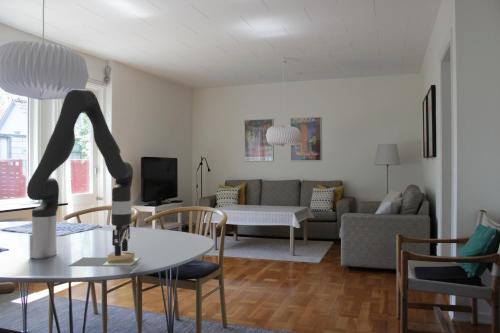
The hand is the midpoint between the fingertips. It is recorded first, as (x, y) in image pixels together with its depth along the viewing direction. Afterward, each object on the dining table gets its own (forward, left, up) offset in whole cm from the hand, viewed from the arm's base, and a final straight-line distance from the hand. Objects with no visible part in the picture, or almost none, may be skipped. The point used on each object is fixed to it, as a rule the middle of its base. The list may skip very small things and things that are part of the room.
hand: (121, 253), depth 164 cm
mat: (-6, 0, -4) cm, 7 cm away
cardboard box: (0, 0, -3) cm, 3 cm away
